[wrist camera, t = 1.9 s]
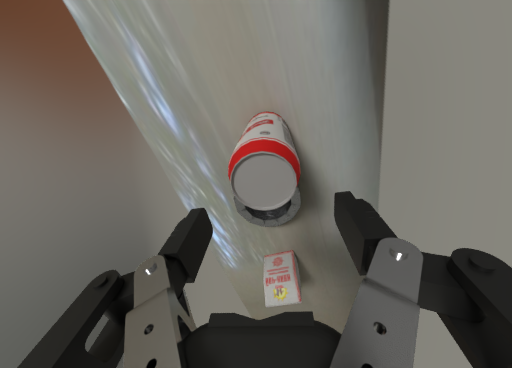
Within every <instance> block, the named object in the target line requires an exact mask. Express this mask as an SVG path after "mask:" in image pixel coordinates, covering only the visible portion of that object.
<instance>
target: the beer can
mask: <svg viewBox="0 0 512 368" xmlns="http://www.w3.org/2000/svg"><path fill="white" fill-rule="evenodd" d="M300 174H301V170H300V161H299V158H298V155H297V152H296V149H295V147H294V144H293V141H292V138H291V135H290V132H289V129H288V127H287V124H286V122H285V120H284V119H283V118H282V117H281V116H280V115H278V114H276V113H274V112H262V113H259V114H257V115H256V116H254V117H253V118H252V119H251V120H250V121H249V123H248V125H247V127H246V129H245V131H244V132H243V134H242V136H241V138H240V140H239V142H238V144H237V146H236V148H235V149H234V151H233V154H232V156H231V158H230V161H229V166H228V176H229V179H230V185H231V189H232V192H233V194H234V195H235V196H236V198H237V199H238V200H239V201H240V202H241V203H243V204H244V205H245V206H247V207H250V208H252V209H256V210H263V211H265V210H273V209H276V208H278V207H281V206H283V205H284V204H285V203H287V202H288V201H289V200H290V199H291V197H292V196H293V194H294V193H295V189H296V187H297V185H298V182H299V178H300Z"/></svg>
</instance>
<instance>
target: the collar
mask: <svg viewBox="0 0 512 368" xmlns="http://www.w3.org/2000/svg"><path fill="white" fill-rule="evenodd" d="M234 201H235V205H236V208H237V211H238V213H239V214H240V215H241V216H243V217H244V218H245V219H246V220H247V221H248V222H249V221H250V223H253V224H256V225H259V226H262V227H263V226H265V227H269V226H279V224H280V225H282V224H283V223H285V222H287V221H289V220H291V219H292V218H293V217H294V216H295V214H296V213H297V211H298V209H299V208H300V206H301V200H300V190H299V186H298V185H297V187H296V189H295V193H294V194H293V196H292V197H291V199H290V200H289V201H288V202H287V203H285V204H284V205H283V206H281V207H279V208H277V209H273V210H265V211H263V210H256V209H252V208H250V207H247V206H245V205H244V204H243V203H241V202H240V201H239V200H238V199H237V198H236V196H234Z"/></svg>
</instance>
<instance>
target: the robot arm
mask: <svg viewBox="0 0 512 368" xmlns="http://www.w3.org/2000/svg"><path fill="white" fill-rule="evenodd" d="M334 217H335V222H336V225H337V227H338V229H339V231H340V233H341V236H342V238H343V240H344V242H345V244H346V246H347V249H348V251H349V253H350V255H351V257H352V260H353V262H354V264H355V266H356V268H357V270H358V273H359V275H367V276H366V278H365V279H363V281H362V283H361V285H360V288H359V291H358V293H357V296H356V299H355V301H354V304H353V307H352V309H351V312H350V315H349V317H348V320H347V322H346V325H345V328H344V330H343V333H342V335H341V334H340V333H339V332H337V331H336V330H335V329H333V328H331V327H330V326H328V325H326V324H324V323H321V322H319V321H315V320H314V318H313V312H284V313H281V314H278V315H275V316H272V317H269V318H265V319H262V320H255V319H252V318H249V317H246V316H242V315H239V314H236V313H212V314H211V315H210V319H209V323H206V324H204V325H202V326H200V327H199V328H197V327H196V325H195V323H194V320H193V317H192V313H191V310H190V306H189V303H188V300H187V296H186V293H185V290H184V289H183V288H184V285H185V283H194V281H195V278H196V276H197V273H198V270H199V268H200V265H201V263H202V260H203V258H204V255H205V252H206V250H207V247H208V245H209V242H210V240H211V237H212V234H213V228H212V224H211V222H210V219H209V217H208V214H207V212H206V210H205V208H197V209H192V210H191V211H190V212H189V214H188V215H187V217H186V218H184V219H183V220H181V221H180V222H179V223H178V225H177V226H176V227H175V229H174V231H173V232H172V233H171V236H170V237H169V238H168V240H167V241H166V243H165V244H164V246H163V247H162V249H161V250H160V252H159V253H158V255H156V256H152V257H150V258H148V259H146V260H145V261H144V262H142V263H141V264H140V265H139V266H138V267H137V269H136V271H134V272H131V273H128V274H126V275H123V276H121V275H120V274H119V273H118V272H117V271H116V270H110V271H107V272H104V273H103V274H101V275H99V276H98V277H96V278H95V279H94V280H92V281H91V282H90V284H88V286H87V287H86V288H85V289H84V290H83V291H82V293H81V294H80V295H79V296H78V297H77V298H76V300H75V301H74V302H73V303H72V304H71V305H70V307H69V308H68V309H67V310H66V311H65V313H64V314H63V315H62V316H61V317H60V318H59V320H58V321H57V322H56V323H55V324H54V325H53V326H52V328H51V329H50V330H49V331H48V332H47V334H46V335H45V336H44V337H43V338H42V339H41V341H40V342H39V343H38V344H37V345H36V346H35V348H34V349H33V350H32V351H31V352H30V353H29V354H28V356H27V357H26V358H25V359H24V360H23V361H22V363H21V364H20V365H19V366H18V367H17V368H116V367H117V365H118V363H119V361H120V359H121V357H122V355H123V353H124V368H413V362H414V353H415V345H416V337H417V328H418V320H419V310H420V308H423V309H427V310H430V311H434V312H437V314H438V315H439V317H440V318H441V320H442V321H443V323H444V324H445V326H446V327H447V329H448V331H449V332H450V334H451V335H452V337H453V338H454V340H455V341H456V343H457V344H458V345H459V347H460V349H461V350H462V352H463V353H464V355H465V356H466V358H467V359H468V361H469V362H470V364H471V365H472V367H473V368H512V268H511V267H510V266H508V265H507V264H506V263H505V262H503V261H502V260H500V259H498V258H496V257H494V256H493V255H490V254H488V253H485V252H482V251H479V250H474V249H469V248H460V249H456V250H455V251H453V252H452V254H451V256H450V257H447V256H442V255H435V254H430V253H424V252H421V251H420V250H419V249H418V248H417V247H416V246H414V245H413V244H411V243H410V242H408V241H405V240H402V239H399V238H397V236H396V235H395V234H394V233H393V231H392V230H391V229H390V228H389V226H388V225H387V224H386V223H385V222H384V220H383V219H382V218H381V217H380V216H379V214H378V213H377V212H376V211H375V209H374V208H373V207H372V206H371V204H369V203H368V202H366V201H364V200H363V199H355V197H354V196H353V194H352V193H351V192H350V191H346V192H337V193H335V200H334ZM103 314H104V315H105V316H106V317H107V318H108V319H109V320H108V322H107V323H106V325H105V326H104V328H103V330H102V331H101V333H100V334H99V336H98V337H97V339H96V340H95V342H94V344H93V345H92V347H91V348H90V350H89V351H88V352H87V351H86V350H85V343H86V340H87V338H88V336H89V334H90V333H91V331H92V330H93V329H94V327H95V326H96V324H97V323H98V321H99V320H100V318H101V317H102V315H103Z"/></svg>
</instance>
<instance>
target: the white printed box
mask: <svg viewBox="0 0 512 368" xmlns="http://www.w3.org/2000/svg"><path fill="white" fill-rule="evenodd" d="M263 281H264V290H265V302H266V307H273V306H280V305H288V304H296V303H302V300H301V282H300V275H299V269H298V262H297V259H296V256H295V254H294V252H293V250H292V251H287V252H282V253H277V254H272V255H267V256H264V280H263Z"/></svg>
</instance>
